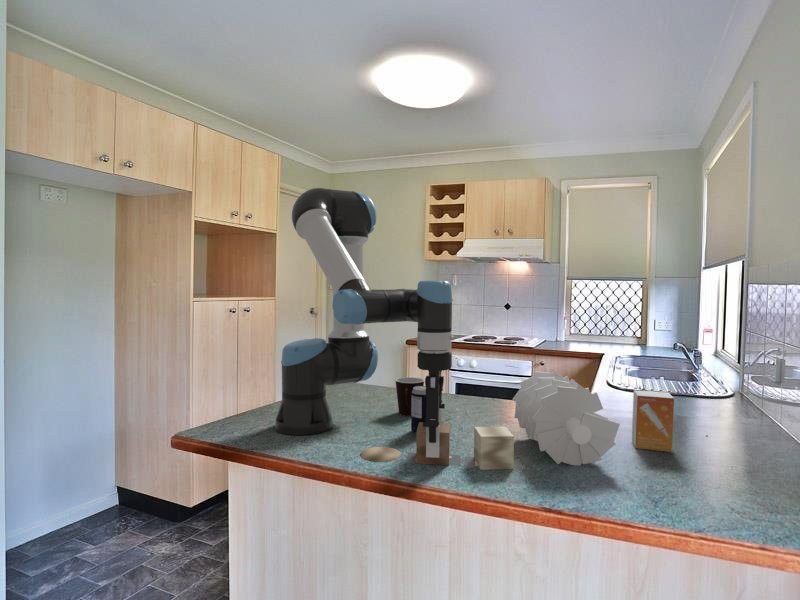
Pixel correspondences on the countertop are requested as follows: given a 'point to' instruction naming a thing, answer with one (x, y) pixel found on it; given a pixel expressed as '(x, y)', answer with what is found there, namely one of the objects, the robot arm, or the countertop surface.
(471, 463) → the code tile
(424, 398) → the beverage can
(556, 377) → the spiral staircase
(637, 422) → the small box
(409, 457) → the tile
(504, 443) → the birch block
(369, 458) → the cork coaster
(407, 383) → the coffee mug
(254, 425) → the countertop surface
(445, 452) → the walnut block
